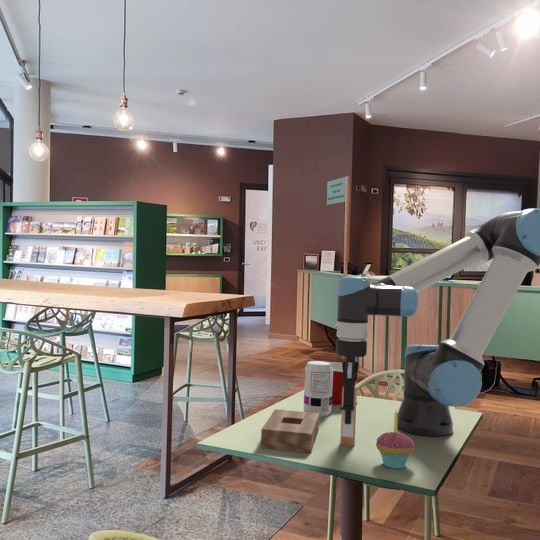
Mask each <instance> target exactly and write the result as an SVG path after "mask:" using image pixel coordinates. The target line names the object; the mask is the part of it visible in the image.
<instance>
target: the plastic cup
mask: <svg viewBox="0 0 540 540" xmlns="http://www.w3.org/2000/svg"><path fill="white" fill-rule="evenodd" d="M329 362H330V363H331V366H332V368H333V384H332V405H342V388H343V386H344V381H343V370H342V363H343V362H336V361H329Z"/></svg>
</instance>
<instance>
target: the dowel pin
mask: <svg viewBox="0 0 540 540" xmlns="http://www.w3.org/2000/svg"><path fill="white" fill-rule="evenodd" d="M357 390H358V387H356V386H355V388H354V427H353V437H344V436H342V419H343V410H341V414H340V415H341V419H340V420H341V421H340V440H339V441H340V442H339V443H340V445H341V446H343V445H344V446H343V447H354V446H355V444H356V420H357V418H356V417H357V405H356V401H357V396H358V395H357V394H358V391H357ZM343 397H344V386H343V388H342V404H341V407H343Z"/></svg>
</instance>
